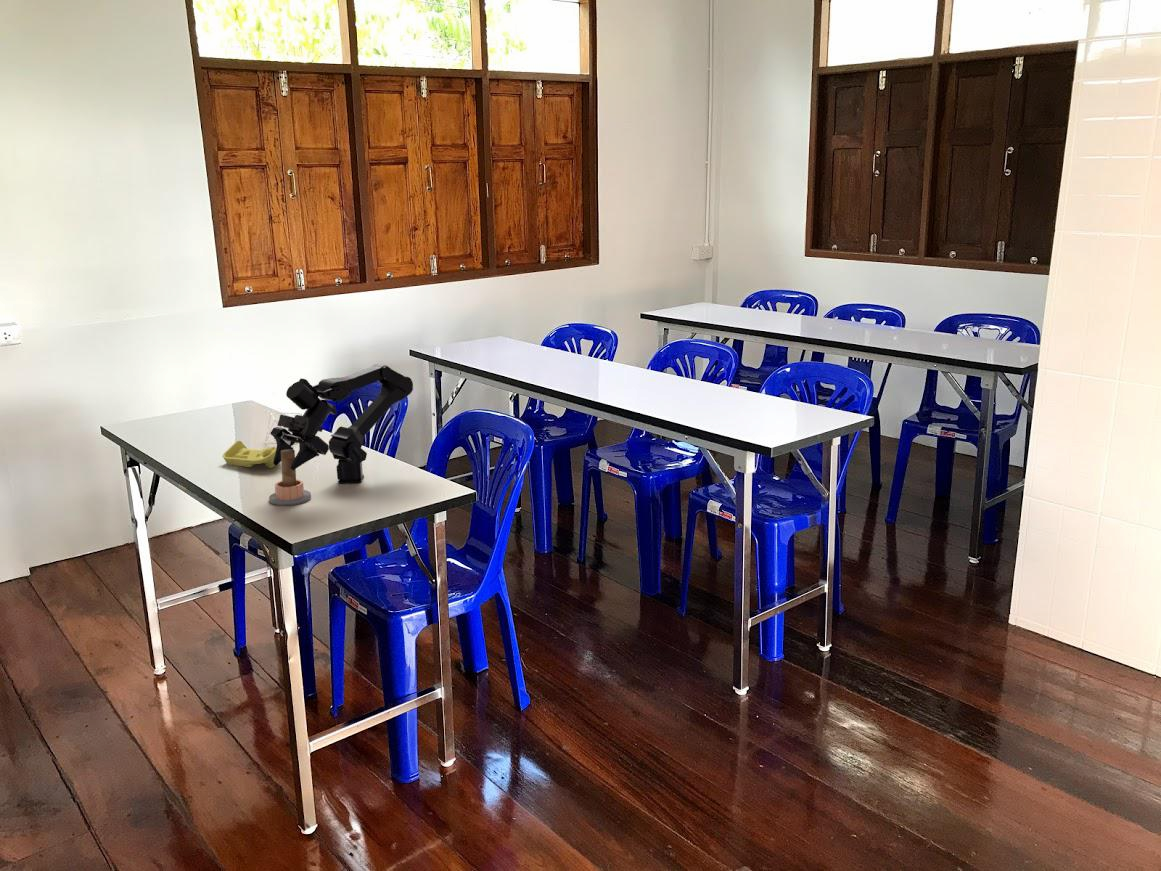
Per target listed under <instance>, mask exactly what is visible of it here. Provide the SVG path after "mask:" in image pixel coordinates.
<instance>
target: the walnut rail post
mask: <svg viewBox="0 0 1161 871" xmlns="http://www.w3.org/2000/svg"><path fill="white" fill-rule="evenodd" d="M295 457H296V451H295V450H294V449H293V450H292V449H286V450H282V451H281V462H280V463H281V479H282V480H281V481H282V484H283V487H291V486H296V480H297V473H296V472H297V471H296V470H297V468H296V469H295V470H292V469H291V468H290V467H291V465H292V463H293V461H294V459H295Z"/></svg>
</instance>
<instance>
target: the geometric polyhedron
mask: <svg viewBox="0 0 1161 871" xmlns="http://www.w3.org/2000/svg"><path fill="white" fill-rule="evenodd" d="M274 414H276V415H277V414H278V415H279V414H280V415H289V416H290V417H295V416H296V415H300V416H303V414H302V413H300V412H298V413H297V412H270V414H269V420H268V423H267V424H268V426H267V431H266V436H265V441H264V443H265V444H270V443H272V444H273V445H274V444H276V445H277V443H276V440H275V439H274V440H271V441H268V439H269V436H270V435H271V434H270V433H271V431H272V430H273V428H274V427H273V426H274V424H275V423H276V424H277V425H278V421H279V418H276V416H275V415H274ZM271 416H272V417H271ZM271 419H273V423H272V425H271V427H270V423H271ZM279 427H280V428H285V427H283V426H279ZM269 428H270V430H269ZM285 429H286V428H285ZM297 440H298V439H297ZM297 444H298V443H294V445H297Z"/></svg>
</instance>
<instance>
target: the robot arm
mask: <svg viewBox="0 0 1161 871" xmlns="http://www.w3.org/2000/svg"><path fill="white" fill-rule="evenodd" d="M376 382H378V383H379V384H380V392H379V394H378V396H377V397H375V399H374V400H373V401H372V402H371V403H369V405H368V406H367V407H366V409H364V411H363V412H362V413H361V414H360V415H359V416H358V417H357V419H355V420H354V421H353V423H352V424H351V425H350V426H348V427H345V426H342V425H341V426H339V427H338V428H337V429H336V431H335V432H333V434H331V435H330V439H329V440H328V443H327V442H325V441H324V439H322V438H321V437H320V436H318V435H317V434H318V432H319V433H322V432H323V430H324V428H323V427H322V426H323V424H324V422H325V421H326V420H327V418H328V416H329V415H335V416H337V414H338V411H337V409H336V405H335V404H333V403H329V402H336V403H339V402H342V401H343V400H344V399H347V398H348V397H349V396H350V394H351V393H352V392H355V391H356V390H358V389H362V388H363V387H366V386H369V385H372V384H374V383H376ZM413 390H414V381H413V380H412V379H411V377H409V376H404V375H403V374H401V373H399V372H398V371H396V370H394V369H392V367H391V368H390V366H388V365H387V364H379V363H377V364H373V365H372V366H370V367H368V368H365V369H361V370H360V371H357V372H354V373H351V374H349V375H346V376H343V377H331V378H330V377H329V378H324V379H321V380H320V381H319V382H318V383H317V384H315V385H311V384H310V382H309V381H308V380H307V378H300V379H299V380H298V381H295V382H294V383H293V384H291V385H290V386H289V387H288V388H287V390H286V392H285V393H286V394H285V395H286V397H287V399H289V400H290V401H291V402H292V403H293V404H294V405H296V406H297V407H298V408H299V409H300V410H301V411H304V410H305V411H304V413H303V414H302V416H300V415H301V414H300V415H297V414H295V415H296V416H292V417H290V416H291V415H286V414H280V415H279V418H278V419H279V420H278V421H277V423H278V424H277V426H276V427H272V429H271V432H270V434H269V435H271V436H273V438H274V440H276V441H275V443H277V444H276V447H277V448H276V453H275V457H274V461H273V464H274V465H275V466H278V465H279V464H280V463H281V451H282V450H286V449H292V450H294V447H293V446H294V445H295V444H296V443H297V444H299V448H298V452H297V453H296V454H295V459H294V461H293V463H292V465H291V467H290V468H291V469H292V470H295V469H296V470H297V468H299V467H301V466H303V465H304V464H305V463H307V462H309V461H310V460H313V459H314V458H316V457H319V456H320V455H323V456H326V455H327V453H328V452H330V453H331V455H332V456H333V459H334V460H338V461H337V465H336V477H337V480H338V481H337V482H338V484H358V483H359V484H361V483H362V482H363V479H364V478H365V474H363V462H364V461H366V460H367V455H368V453H367V452H366V451H365V450H364V449H363V448H362V446H363V443H364V438H365V436H366V435H368V433H369V432H370V430H371V429H372V428H373V427H374V426H375V425H376V424H377V423H378V421H380V420H381V418H382V417H383V416H384V415H385V414H386V412H387V411H389V410H390V408H391V407H392V406H393V405H394V404H396V403H399V402H400V401H403V400H404V399H406V398H407V397H408V396H410V395H411V394H412V392H413ZM328 401H329V402H328ZM280 426H281V427H282V428H281V427H280ZM284 427H285V428H284ZM297 439H298V440H297ZM294 443H295V444H294Z"/></svg>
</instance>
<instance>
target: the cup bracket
mask: <svg viewBox="0 0 1161 871" xmlns="http://www.w3.org/2000/svg"><path fill="white" fill-rule="evenodd" d="M274 490H275V491H274V492H273V493H272V494H269V497H268V502H269V503H270V504H271V505H274V506H278V507H279V506H282V507H287V506H297V505H301V504H302V505H303V504H304V503H308V502H309V501H310V500H311V499H312V493H311V492H310V491H308V490H306V489H304V481H302V480H300V479H296V486H291V487H283V484H282V480H280V481H277V482H276V483H275V484H274Z"/></svg>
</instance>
